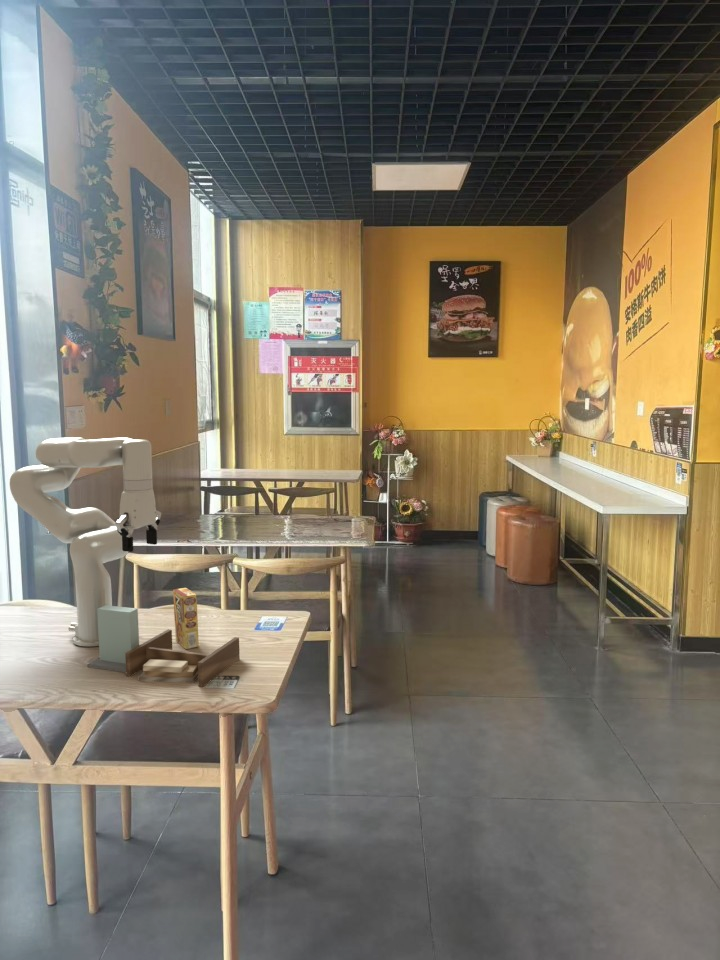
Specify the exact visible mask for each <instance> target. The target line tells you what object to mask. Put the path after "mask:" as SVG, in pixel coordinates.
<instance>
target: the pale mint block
mask: <svg viewBox="0 0 720 960" xmlns="http://www.w3.org/2000/svg"><path fill="white" fill-rule="evenodd" d="M97 615H98V634H99V646H98V647H99V648H98V649H99V651H98V653H99V657H100V660H103V661H111V662H118V663H125V664H126V658H125V653H126V652H128V651H130V650H132V649H134V648H135V647H137V646H139V645H140V634H139V633H140V631H139V609H138V608H136V607H126V606H118V605H112V606H109V605H105V606H103V607H100V608H98V609H97Z"/></svg>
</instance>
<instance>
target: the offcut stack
mask: <svg viewBox="0 0 720 960" xmlns="http://www.w3.org/2000/svg"><path fill="white" fill-rule="evenodd" d="M137 679H138V681H140V682H164V683H165V682H166V683H195V681H196V680H198V670H197V665H188V661H175V660H155V659H150V660H149V661H148V662H146V663H145V664H144V665H143V669H142V673H140V675H139V676H138V677H137Z"/></svg>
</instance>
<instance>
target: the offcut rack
mask: <svg viewBox="0 0 720 960" xmlns="http://www.w3.org/2000/svg"><path fill="white" fill-rule="evenodd" d="M125 658H126V672H125V674H126V677H132V676H133V675H135V674H137V673H138V672H140V671H143V665H144V664H145V663H146V662H148V661H149V660H150V659H155V660H175V661H188V665H197V670H198V677H197V686H198V687H201V688H202V687H204V686H206V685H207V684H209V681H210V680H211V681H212V680H214V679H215V678H216V676H217V677H218V676H219V675H221V674H223V672H225V671H226V670H228V669H229V668H230V667H231V666H233V665H234V664H235V663H237V662H238V661H239V660H240V659H241V658H240V638H239V637H236V636H235V637H233V638H232V639H230V640H229V641H228V642H226V643H224V644H222V645H221V646H219V648H217V649H216V650H214V651H213V652H211V653H210V654H208V653H201V652H200V653H199V652H191V651H184V650H177V649H173V630H172V629H166V630H164V631H162V632H161V633H159V634H157V635H155V636H154V637H152V638H150V639H148V640H147V641H144V642H142V643H141V644H139V646H137V647H135V648H134V649H132V650H130V651H128V652H126V653H125ZM236 661H237V662H236ZM232 664H233V665H232ZM224 670H225V671H224ZM220 673H221V674H220ZM214 677H215V678H214ZM213 678H214V679H213ZM211 681H210V682H211Z"/></svg>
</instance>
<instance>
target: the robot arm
mask: <svg viewBox="0 0 720 960" xmlns="http://www.w3.org/2000/svg"><path fill="white" fill-rule="evenodd" d="M152 457H153V456H152V443H151V442H150V441H149V440H148V439H141V438H140V439H134V438H130V437H123V436H122V437H121V436H120V437H109V438H97V439H85V438H83V437H82V436H81V437H80V436H79V437H78V436H77V437H73V436H71V437H70V436H69V437H56V438H54V437H53V438H48V439H45V440H43V441H42V442H40V443H39V444H38V445H37V446H36V449H35V458H36V459H37V461H38V462H39V463H40V464H37V465H28V466H23V467H22V468H19V469H17V470H15V471H13V473H12V474H11V476H10V478H9V490H10V493H11V495H12V498H13V499H14V501H15V502H16V504H17V505H18V506H19V507H20V508H21V509H22V510H23V511H24V512H26V513H27V514H28V515H30V516H31V517H33V518H34V519H35V520H36V521H37V522H39V524H41V525H42V527H44V528H45V529H46V530H47V531H48V532H49V533H51V534H52V535H53V536H54V538H56V539H57V540H58V541H60V542H61V543H64V544H69V555H70V559H71V563H72V568H73V574H74V582H75V597H76V599H75V600H76V615H77V617H76V618H77V622H76V621H75V622H73V621H72V622H71V623H70V625H69V626H68V630H67V631H69V632H74V636H73V637H72V643H73V644H74V645H76V646H79V647H99V634H98V615H97V609H98V608H100V607H103V606H105V605H109V606H113V600H112V582H111V581H112V580H111V575H110V574H109V572H108V570H107V569H106V567H105V565H104V564H106V563H108V562H112V561H116V560H119V559H121V558H124V557H125V556H127V555H128V553H132V552H134V537H133V536H132V535H133V533H134V530H136V529H141V528H144V527H146V528H147V529H146V531H145V532H146V533H145V534H146V535H145V538H146V544H147V545H157V544H158V533H157V531H158V530H159V525H160V523H161V517H162V512H161V511H159V510H158V509H157V506H156V497H155V493H154V489H153V488H154V487H153V482H154V481H153V462H152V461H153V459H152ZM112 466H122V478H123V479H122V480H123V482H122V483H123V491H122V492H121V493H120V494H121V495H120V503H119V519H117V520H116V521H115V520H113V519H112V518H111V517H110V516H109V515H108V514H107V513H105V512H104V511H102V509H99V508H97V507H82V508H75V509H74V508H70V507H69V506H68V505H66V504H65V503H64V502H62V500H60V499H59V498H58V497H56V496H53V495H51V494H48V493H52V492H59V491H62V490H65V489H67V488H68V487H69V486H70V485H71V484H72V482H73V481H74V479H75V478H76V477H77V475H78V473H79V472H80V470H81V469H84V468H85V469H87V468H88V469H89V468H90V469H91V468H94V469H95V468H96V469H97V468H105V467H112Z"/></svg>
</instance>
